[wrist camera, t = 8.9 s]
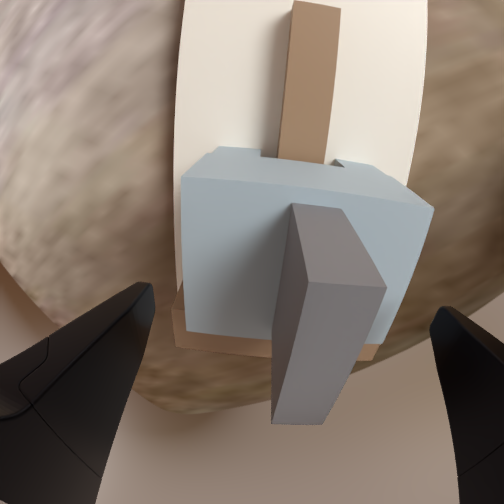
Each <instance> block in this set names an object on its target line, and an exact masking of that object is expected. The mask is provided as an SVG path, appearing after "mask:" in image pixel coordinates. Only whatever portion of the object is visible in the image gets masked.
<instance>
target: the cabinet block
mask: <svg viewBox="0 0 504 504" xmlns="http://www.w3.org/2000/svg"><path fill="white" fill-rule="evenodd" d="M260 154H261V149H253V148H240V147H226V146H218V147H217V148H216V149H215V150H214V151H213V152H212V153H206V154H205V155H204V156H203V157H202V158H201V159H199V160H198V161H197V162H196V163H195V164H194V165H193V166H192V167H191V168H190V169H189V170H187V171H186V172H185V173H184V174H183V175H182V176H181V241H182V268H183V288H184V305H185V319H186V331H191V332H198V333H206V334H215V335H223V336H233V337H243V338H253V339H265V340H272V395H271V402H272V403H271V424H291V425H320V424H323V422H324V421H325V419H326V417H327V415H328V414H329V412H330V410H331V408H332V407H333V405H334V403H335V401H336V399H337V398H338V396H339V394H340V392H341V390H342V388H343V386H344V384H345V382H346V380H347V378H348V376H349V374H350V372H351V370H352V368H353V366H354V364H355V362H356V360H357V358H358V356H359V354H360V352H361V350H362V347H363V345H364V344H382V343H383V341H384V339H385V337H386V335H387V333H388V331H389V329H390V327H391V324H392V322H393V320H394V318H395V316H396V313H397V311H398V309H399V307H400V304H401V302H402V300H403V297H404V295H405V292H406V290H407V287H408V285H409V282H410V280H411V277H412V275H413V272H414V269H415V267H416V264H417V261H418V259H419V256H420V253H421V250H422V247H423V244H424V241H425V238H426V235H427V232H428V229H429V226H430V222H431V219H432V216H433V212H434V208H433V207H432V206H431V205H429V204H428V203H427V202H425V201H424V200H423V199H422V198H420V197H419V196H418V195H416V194H415V193H414V192H412V191H411V190H410V189H408V188H407V187H406V186H404V185H403V184H401V183H400V182H399V181H397V180H396V179H394V178H393V177H392V176H388V175H386V174H385V173H383V172H382V171H380V170H379V169H377V168H376V167H374V166H373V165H369V164H363V163H358V162H352V161H346V160H340V159H335V163H334V166H331V165H324V164H317V163H310V162H303V161H295V160H286V159H277V158H268V157H260Z"/></svg>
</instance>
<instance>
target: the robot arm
mask: <svg viewBox="0 0 504 504" xmlns="http://www.w3.org/2000/svg"><path fill="white" fill-rule="evenodd" d="M154 313H155V301H154V293H153V287H152V285H151V284H150V283H146V282H136V283H135V284H133V285H131V286H130V287H128V288H126V289H125V290H123V291H121V292H119V293H118V294H116V295H114V296H113V297H111V298H109V299H108V300H106V301H104V302H103V303H101V304H99V305H98V306H96V307H94V308H93V309H91V310H90V311H88V312H86V313H85V314H83V315H81V316H80V317H78V318H76V319H75V320H73V321H72V322H70V323H68V324H67V325H65V326H64V327H62V328H60V329H59V330H57V331H56V332H54V333H52V334H51V335H49V337H46V338H44V339H43V340H41V341H40V342H38V343H36V344H35V345H33V346H32V347H30V348H28V349H26V350H25V351H23V352H21V353H20V354H18V355H16V356H14V357H12V358H11V359H9V360H7V361H5V362H3V363H1V364H0V504H95V502H96V499H97V495H98V491H99V488H100V484H101V480H102V476H103V473H104V470H105V466H106V463H107V460H108V457H109V453H110V450H111V447H112V444H113V441H114V438H115V435H116V431H117V429H118V426H119V423H120V420H121V417H122V413H123V411H124V408H125V405H126V402H127V399H128V397H129V394H130V391H131V388H132V385H133V383H134V380H135V377H136V375H137V372H138V369H139V367H140V364H141V361H142V358H143V355H144V352H145V348H146V344H147V340H148V336H149V332H150V328H151V325H152V321H153V317H154ZM430 336H431V341H432V346H433V351H434V356H435V362H436V367H437V372H438V376H439V380H440V384H441V388H442V392H443V395H444V400H445V405H446V409H447V414H448V419H449V423H450V429H451V434H452V439H453V446H454V452H455V460H456V467H457V476H458V488H459V502H460V504H504V344H503V343H502V342H501V341H499V340H498V339H497V338H495V337H494V336H493V335H491V334H490V333H489V332H487V331H486V330H484V329H483V328H482V327H480V326H479V325H477V324H476V323H474V322H473V321H472V320H470V319H469V318H467V317H466V316H464V315H463V314H462V313H460V312H459V311H457V310H456V309H454V308H453V307H451V306H442V307H440V308H439V309H438V311H437V313H436V315H435V317H434V319H433V321H432V323H431V325H430Z"/></svg>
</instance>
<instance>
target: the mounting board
mask: <svg viewBox="0 0 504 504" xmlns="http://www.w3.org/2000/svg"><path fill="white" fill-rule="evenodd" d="M426 46H427V0H185V7H184V14H183V22H182V31H181V40H180V50H179V61H178V73H177V87H176V104H175V126H174V236H175V259H176V277H177V292H178V293H177V295H176V297H175V300H174V302H173V305H172V307H171V314H172V323H173V332H174V340H175V347H179V348H186V349H193V350H201V351H208V352H216V353H225V354H234V355H244V356H255V357H268V358H272V340H265V339H253V338H243V337H233V336H223V335H215V334H206V333H198V332H191V331H186V319H185V305H184V288H183V268H182V241H181V176H182V175H183V174H184V173H185V172H186V171H187V170H189V169H190V168H191V167H192V166H193V165H194V164H195V163H196V162H197V161H198V160H199V159H201V158H202V157H203V156H204V155H205V154H206V153H212V152H213V151H214V150H215V149H216V148H217V147H218V146H226V147H240V148H253V149H261V154H260V157H268V158H277V159H286V160H295V161H303V162H310V163H317V164H324V165H331V166H334V163H335V159H340V160H346V161H352V162H358V163H363V164H369V165H373V166H374V167H376V168H377V169H379V170H380V171H382V172H383V173H385V174H386V175H388V176H392V177H393V178H394V179H396V180H397V181H399V182H400V183H401V184H403V185H404V186H406V184H407V180H408V175H409V171H410V166H411V161H412V156H413V151H414V146H415V141H416V135H417V129H418V123H419V116H420V109H421V102H422V93H423V84H424V74H425V62H426ZM379 345H380V344H364V345H363V347H362V350H361V352H360V354H359V356H358V358H357V360H356V361H372V359H373V357H374V355H375V353H376V351H377V349H378V347H379Z"/></svg>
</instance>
